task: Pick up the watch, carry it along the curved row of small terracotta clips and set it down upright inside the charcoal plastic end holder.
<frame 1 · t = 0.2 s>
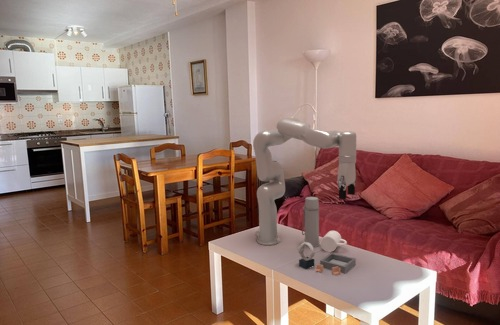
hand: (347, 196, 173), 31 cm above the table, tool pointing down, fingers open, 9 cm apart
holder: (337, 265, 172), on the table
watch: (306, 266, 173), on the table
mug: (334, 249, 192), on the table
clip 2: (336, 274, 164), on the table
water bottle: (310, 245, 198), on the table
clip 1: (319, 271, 167), on the table
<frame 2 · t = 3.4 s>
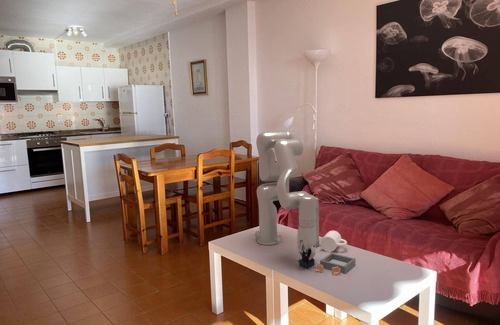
hand: (307, 261, 172), 2 cm above the table, tool pointing down, fingers closed on watch, 3 cm apart
watch: (306, 266, 173), on the table, touching gripper
everything else where it was.
when the fingers open (4 cm above the table, at t = 9.3 s): watch stays where it is, resting on holder.
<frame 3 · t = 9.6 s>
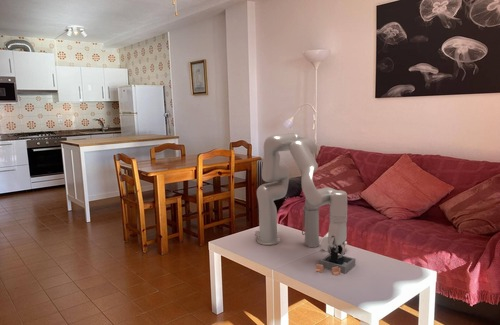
hand: (337, 256, 171), 4 cm above the table, tool pointing down, fingers open, 6 cm apart
watch: (336, 264, 172), point 1 cm above the table, touching holder
everything else where it was.
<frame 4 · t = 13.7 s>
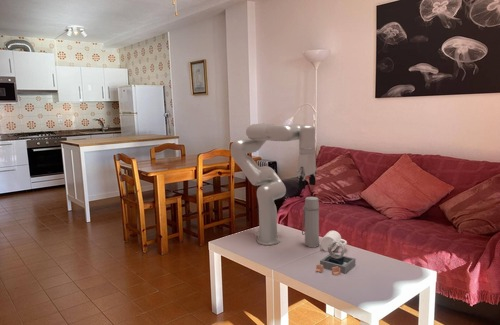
hand: (307, 186, 183), 33 cm above the table, tool pointing down, fingers open, 9 cm apart
nothing on the table moved.
at the end: watch inside the target area on the holder (0.7 cm from its centre), point 0.5 cm above the holder's base; watch tilted 0°; the gripper is holding nothing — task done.
